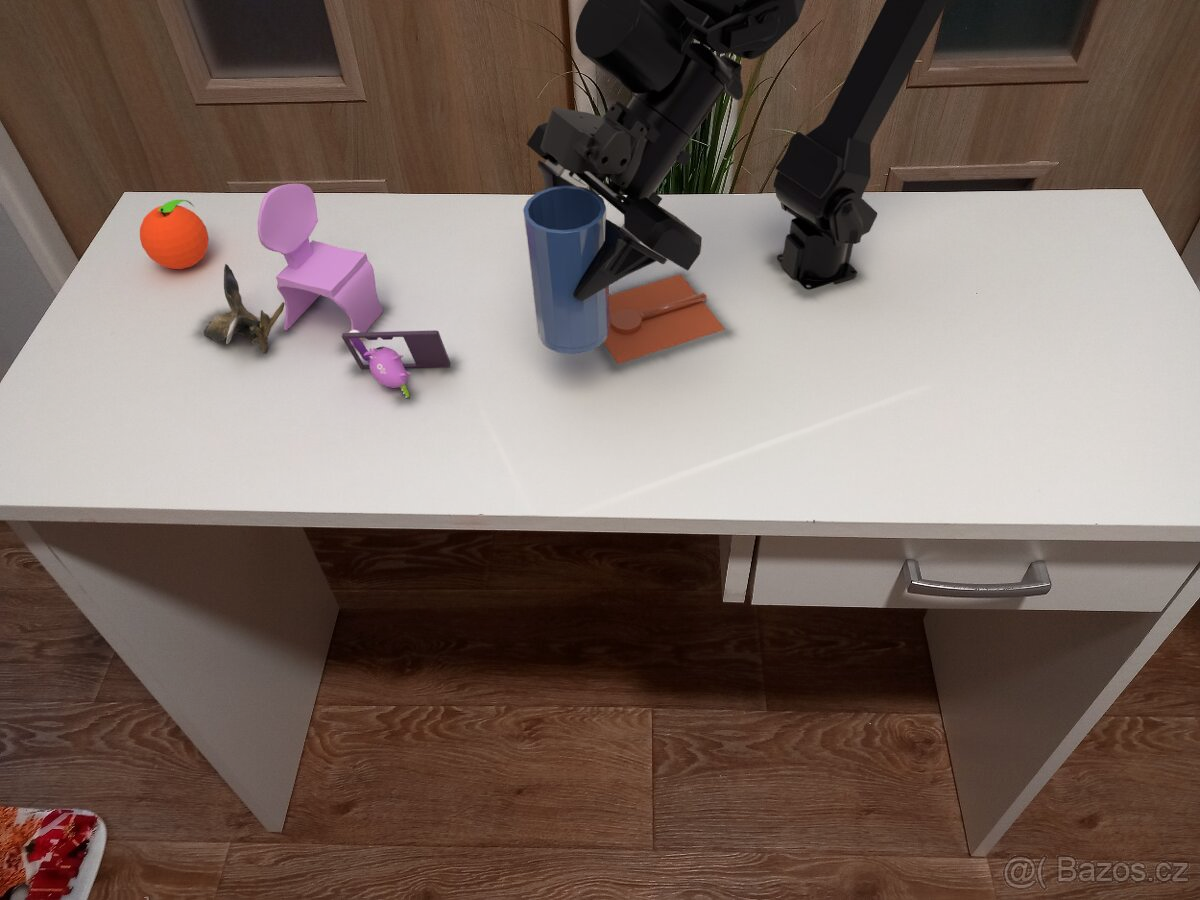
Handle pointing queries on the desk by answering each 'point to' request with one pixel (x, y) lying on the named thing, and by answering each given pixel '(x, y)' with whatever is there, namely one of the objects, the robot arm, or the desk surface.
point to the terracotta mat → (659, 319)
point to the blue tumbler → (566, 267)
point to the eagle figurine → (240, 317)
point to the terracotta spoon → (648, 314)
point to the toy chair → (314, 260)
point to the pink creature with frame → (387, 361)
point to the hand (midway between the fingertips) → (555, 277)
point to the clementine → (174, 236)
